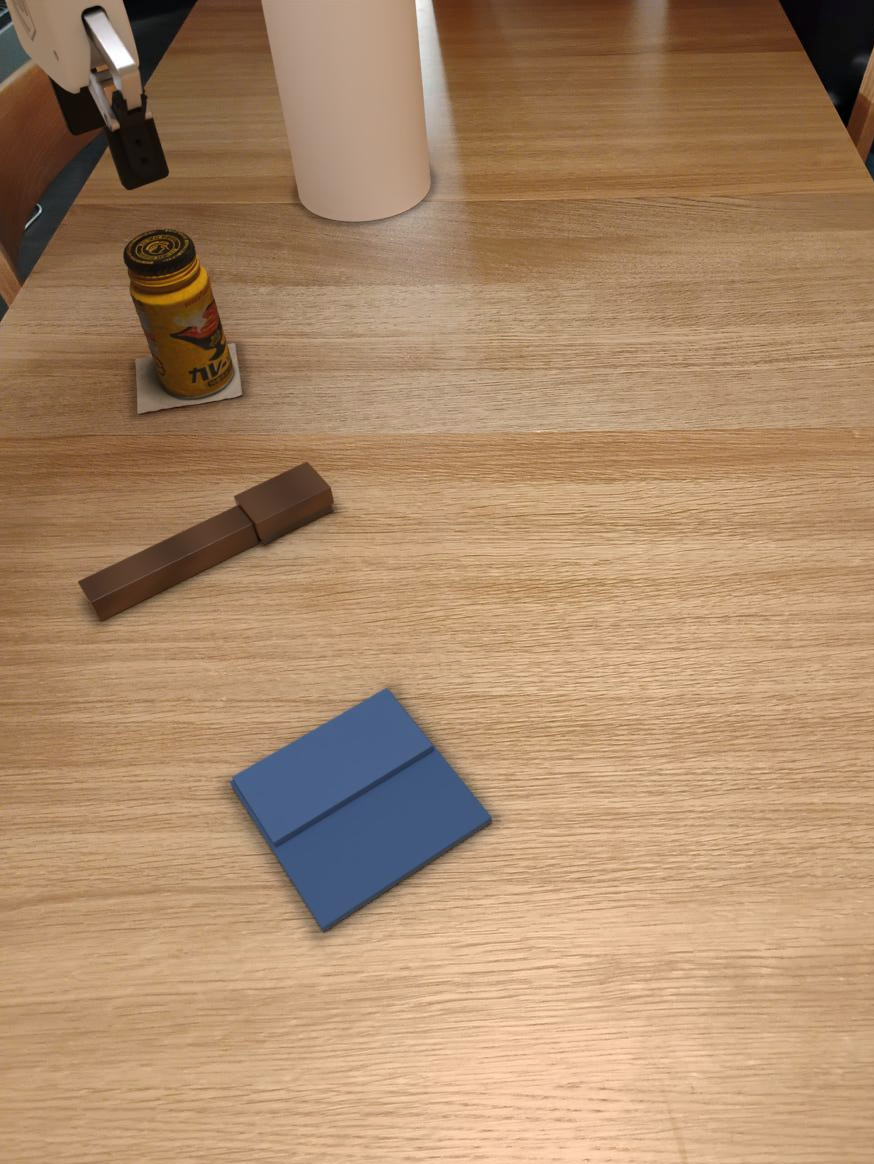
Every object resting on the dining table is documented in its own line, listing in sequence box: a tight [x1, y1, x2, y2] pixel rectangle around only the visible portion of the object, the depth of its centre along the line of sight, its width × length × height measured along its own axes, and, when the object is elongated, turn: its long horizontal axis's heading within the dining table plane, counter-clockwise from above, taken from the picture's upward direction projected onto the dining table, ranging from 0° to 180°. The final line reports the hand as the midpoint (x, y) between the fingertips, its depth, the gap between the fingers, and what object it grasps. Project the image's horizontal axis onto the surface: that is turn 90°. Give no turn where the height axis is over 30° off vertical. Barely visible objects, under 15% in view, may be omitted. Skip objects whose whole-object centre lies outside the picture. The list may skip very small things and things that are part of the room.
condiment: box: [122, 228, 243, 415], centre depth 79 cm, size 7×8×12 cm
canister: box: [261, 0, 432, 223], centre depth 94 cm, size 14×14×20 cm
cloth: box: [229, 687, 493, 932], centre depth 57 cm, size 11×11×1 cm
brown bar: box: [77, 461, 335, 622], centre depth 70 cm, size 18×4×2 cm, turn 125°
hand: (118, 154), depth 69 cm, fingers open, 9 cm apart
